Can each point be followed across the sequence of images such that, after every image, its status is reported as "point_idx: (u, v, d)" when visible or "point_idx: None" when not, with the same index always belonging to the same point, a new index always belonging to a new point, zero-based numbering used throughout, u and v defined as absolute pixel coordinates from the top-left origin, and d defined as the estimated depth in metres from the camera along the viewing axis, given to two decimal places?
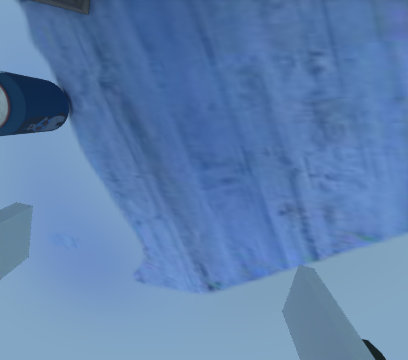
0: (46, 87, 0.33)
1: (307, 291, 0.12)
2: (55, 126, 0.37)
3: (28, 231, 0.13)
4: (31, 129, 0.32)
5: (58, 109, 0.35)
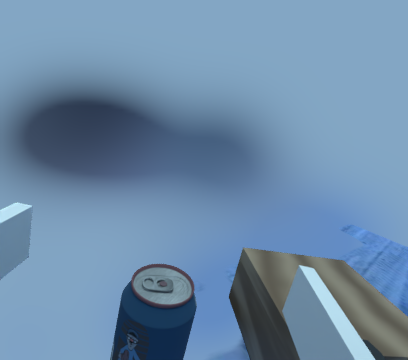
0: None
1: (307, 291, 0.12)
2: None
3: (28, 231, 0.13)
4: (126, 343, 0.23)
5: None
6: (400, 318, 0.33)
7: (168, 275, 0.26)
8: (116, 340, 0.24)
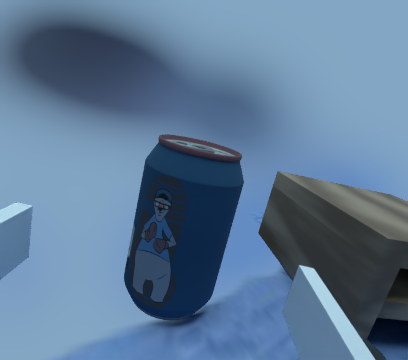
0: (219, 259, 0.18)
1: (307, 291, 0.12)
2: (142, 282, 0.18)
3: (28, 231, 0.13)
4: (152, 213, 0.17)
5: (183, 278, 0.17)
6: None
7: None
8: (138, 218, 0.18)
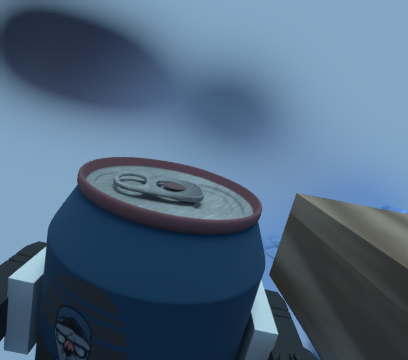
0: None
1: None
2: None
3: None
4: (54, 356, 0.07)
5: None
6: None
7: (185, 181, 0.10)
8: (37, 344, 0.08)
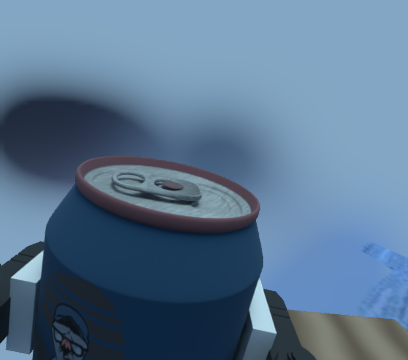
0: None
1: None
2: None
3: None
4: (51, 354, 0.07)
5: None
6: None
7: None
8: (34, 343, 0.08)
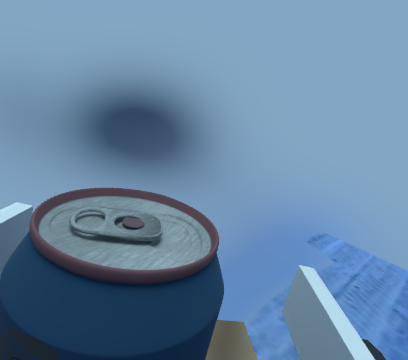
0: None
1: (307, 291, 0.12)
2: None
3: (28, 231, 0.13)
4: None
5: None
6: None
7: (149, 211, 0.10)
8: None
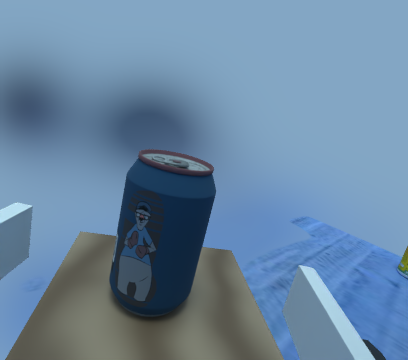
0: (195, 260, 0.21)
1: (307, 291, 0.12)
2: (126, 284, 0.20)
3: (28, 231, 0.13)
4: (134, 223, 0.18)
5: (163, 279, 0.19)
6: (254, 331, 0.22)
7: (180, 160, 0.22)
8: (121, 227, 0.20)
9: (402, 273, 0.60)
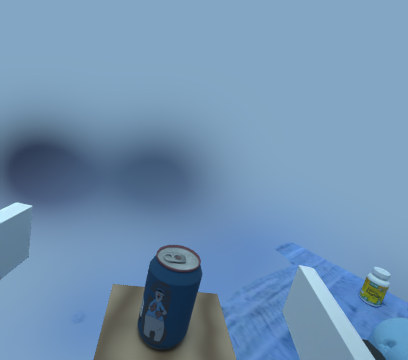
0: (189, 316, 0.35)
1: (307, 291, 0.12)
2: (148, 331, 0.34)
3: (28, 231, 0.13)
4: (154, 298, 0.33)
5: (170, 329, 0.33)
6: (225, 358, 0.36)
7: (181, 252, 0.36)
8: (146, 297, 0.34)
9: (362, 298, 0.74)
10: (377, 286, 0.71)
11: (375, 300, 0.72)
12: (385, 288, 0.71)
